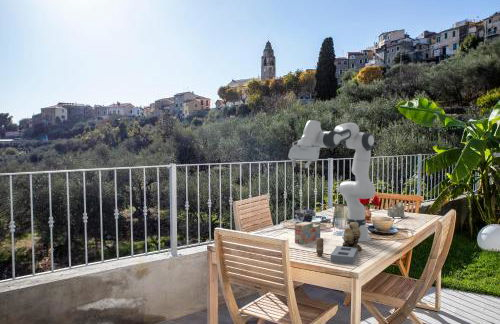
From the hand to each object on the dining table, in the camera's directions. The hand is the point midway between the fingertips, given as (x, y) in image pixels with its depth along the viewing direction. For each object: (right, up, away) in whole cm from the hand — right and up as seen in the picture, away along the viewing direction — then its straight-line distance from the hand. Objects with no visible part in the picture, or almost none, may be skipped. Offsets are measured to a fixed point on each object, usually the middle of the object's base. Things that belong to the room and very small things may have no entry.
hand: (299, 166), depth 228 cm
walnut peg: (+12, -51, +1) cm, 53 cm away
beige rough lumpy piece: (+33, -51, +14) cm, 62 cm away
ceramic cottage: (+99, -45, +120) cm, 162 cm away
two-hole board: (+25, -51, -4) cm, 57 cm away
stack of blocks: (+10, -50, +37) cm, 63 cm away
